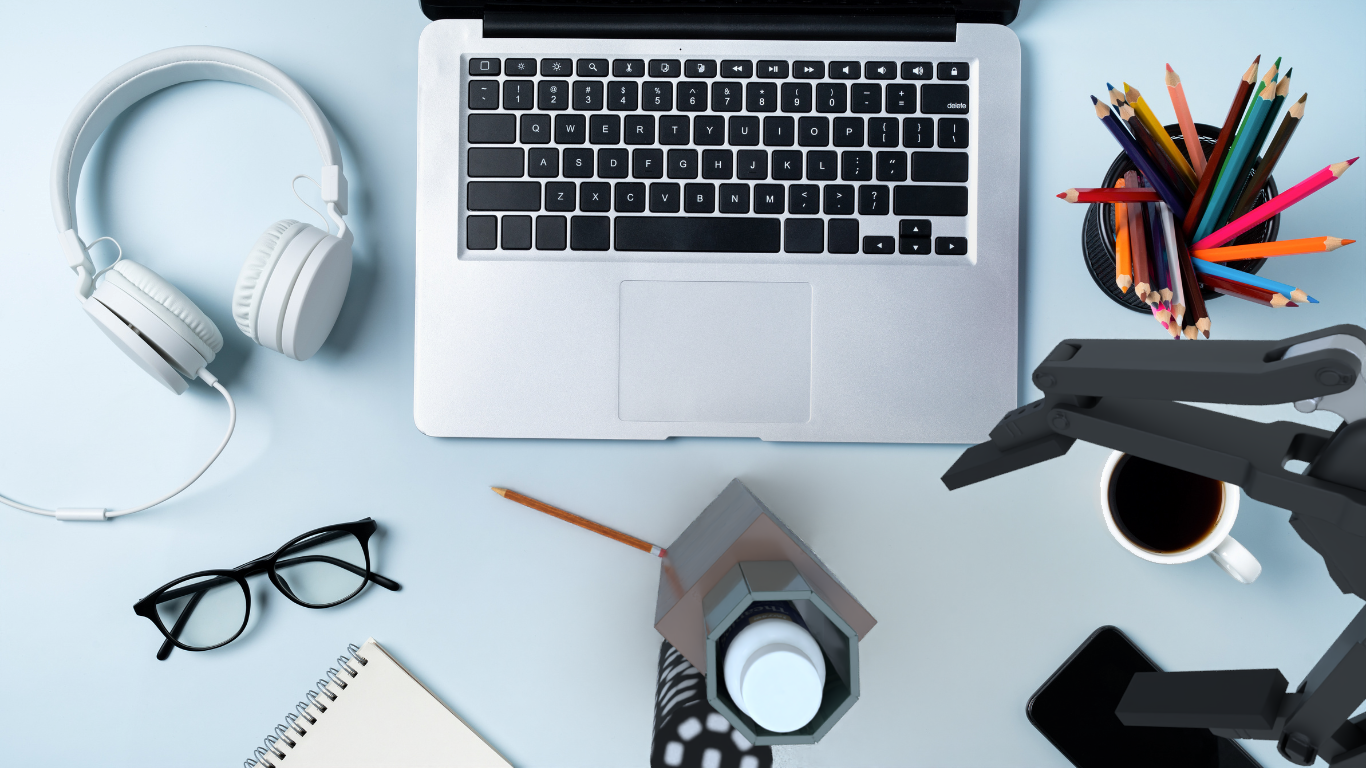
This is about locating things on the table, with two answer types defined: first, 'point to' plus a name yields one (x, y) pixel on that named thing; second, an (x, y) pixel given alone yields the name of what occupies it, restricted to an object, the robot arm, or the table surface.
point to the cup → (821, 619)
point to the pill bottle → (773, 666)
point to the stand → (715, 547)
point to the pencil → (579, 521)
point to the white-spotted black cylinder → (695, 723)
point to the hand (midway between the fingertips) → (1042, 583)
